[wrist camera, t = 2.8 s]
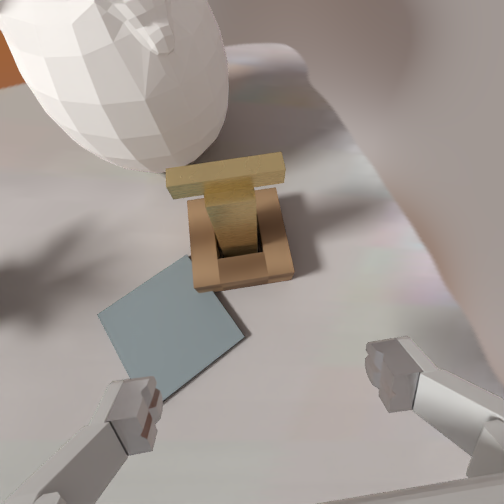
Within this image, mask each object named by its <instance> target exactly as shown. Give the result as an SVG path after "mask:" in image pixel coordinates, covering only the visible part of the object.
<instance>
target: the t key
mask: <svg viewBox="0 0 504 504" xmlns="http://www.w3.org/2000/svg"><path fill="white" fill-rule="evenodd" d="M285 171H286V168H285V164H284V160H283V156H282V152H276V153H269V154H262V155H255V156H248V157H241V158H234V159H228V160H221V161H214V162H207V163H200V164H193V165H186V166H179V167H173V168H166V187H167V189H168V191H169V192H170V194H171V196H172V198H173V199H179V198H185V197H192V196H199V195H204V199H205V208H206V210H207V213H208V216H209V218H210V221H211V224H212V226H213V229H214V231H215V234H216V237H217V239H218V242H219V245H220V247H221V250H222V252H223V255H224V258H228V257H234V256H240V255H247V254H253V253H258V252H257V216H256V197H255V192H254V187H259V186H266V185H273V184H279V183H284V178H285Z"/></svg>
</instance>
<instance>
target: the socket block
mask: <svg viewBox="0 0 504 504" xmlns="http://www.w3.org/2000/svg"><path fill="white" fill-rule="evenodd" d="M254 192H255V197H256V216H257V227H258V232H259V238H260V243H261V249H262V252H260V253H253V254H247V255H240V256H234V257H228V258H221V259H220V251H219V243H218V239H217V237H216V234H215V231H214V229H213V226H212V224H211V221H210V218H209V216H208V213H207V210H206V208H205V199H204V198H202V199H195V200H188V201H187V206H188V219H189V232H190V245H191V258H192V272H193V285H194V289H195V290H196V291H197V292H198V293H204V292H210V291H213V292H219V291H225V290H231V289H237V288H244V287H250V286H256V285H262V284H269V283H275V282H281V281H287V280H291V279H292V277H293V275H294V272H295V271H294V267H293V262H292V258H291V253H290V249H289V244H288V240H287V235H286V231H285V227H284V222H283V218H282V213H281V209H280V204H279V200H278V195H277V191H276V187H275V188H269V189H262V190H255V191H254Z"/></svg>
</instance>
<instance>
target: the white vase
mask: <svg viewBox="0 0 504 504" xmlns="http://www.w3.org/2000/svg"><path fill="white" fill-rule="evenodd" d="M0 29H1V31H2V32H3V35H4V37H5V39H6V41H7V44H8V46H9V48H10V50H11V53H12V55H13V57H14V60H15V62H16V64H17V67H18V69H19V71H20V73H21V75H22V76H23V78H24V80H25V82H26V83H27V85H28V86H29V88H30V89H31V91H32V92H33V94H34V95H35V97H36V98H37V100H38V101H39V103H40V104H41V106H42V107H43V109H44V110H45V112H46V113H47V114H48V115H49V116H50V117H51V118H52V119H53V120H54V121H55V122H56V123H57V124H58V125H59V126H60V127H61V128H62V129H63V130H64V131H65V132H66V133H67V134H68V135H69V136H70V137H71V138H72V139H73V140H74V141H75V142H77V143H78V144H79V145H80V146H81V147H83V148H85V149H86V150H88V151H89V152H91V153H93V154H94V155H96V156H98V157H99V158H101V159H102V160H105V161H107V162H110V163H112V164H114V165H117V166H119V167H122V168H124V169H130V170H136V171H143V172H152V173H162V172H166V168H173V167H179V166H185V165H187V164H189V163H191V162H193V161H195V160H196V159H197V158H198V157H199V156H200V155H201V154H202V153H203V152H204V151H205V150H206V149H207V148H208V147H209V146H210V145H211V144H212V143H213V142H214V141H215V140H216V138H217V137H218V135H219V132H220V130H221V128H222V126H223V124H224V122H225V117H226V112H227V108H228V96H229V80H228V61H227V57H226V53H225V49H224V45H223V41H222V37H221V33H220V29H219V26H218V24H217V22H216V19H215V17H214V15H213V12H212V10H211V8H210V6H209V3H208V1H207V0H0Z"/></svg>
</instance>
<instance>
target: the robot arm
mask: <svg viewBox="0 0 504 504" xmlns="http://www.w3.org/2000/svg"><path fill="white" fill-rule="evenodd" d="M366 351H367V353H368V354H369V355H368V356H367V357H366V358H365V368H366V373H367V375H368V378H369V380H370V381H371V383H372V385H373V386H375V387H377V388H378V389H379V397H380V399H381V401H382V402H383V404H384V406H385V407H386V409H387V411H388V412H389V413H392V412H400V411H407V410H413V412H415V413H416V414H417V415H418V416H420V417H421V418H422V419H424V420H425V421H426V422H428V423H429V424H430V425H431V426H433V427H434V428H435V429H437V430H438V431H439V432H440V433H442V434H443V435H444V436H446V437H447V438H448V439H450V440H451V441H452V442H453V443H455V444H456V445H457V446H459V447H460V448H461V449H463V450H464V451H465V452H466V453H468V454H469V455H470V456H472V457H471V460H470V463H469V465H468V468H467V472H466V475H467V476H468V478H466V479H460V480H454V481H448V482H442V483H436V484H431V485H425V486H419V487H413V488H407V489H401V490H395V491H389V492H383V493H377V494H371V495H365V496H359V497H353V498H347V499H341V500H335V501H329V502H323V503H317V504H504V399H503V398H501V397H499V396H497V395H495V394H493V393H491V392H489V391H487V390H485V389H483V388H481V387H479V386H477V385H475V384H473V383H471V382H469V381H467V380H465V379H463V378H461V377H459V376H457V375H455V374H453V373H451V372H449V371H447V370H444V369H441V370H439V368H438V367H437V366H436V365H435V364H434V363H433V362H432V361H431V360H430V359H429V358H428V357H427V355H426V354H425V353H424V352H423V351H422V350H421V349H420V348H419V347H418V346H417V345H416V343H415V342H414V341H413V340H412V339H411V338H410V337H408V336H403V337H397V338H390V339H384V340H378V341H372V342H368V343H367V344H366ZM156 384H157V381H156V379H155V377H154V376H147V377H140V378H132V379H125V380H118V381H112V382H111V383H110V384H109V385H108V387H107V389H106V391H105V393H104V395H103V397H102V399H101V401H100V403H99V405H98V407H97V409H96V411H95V413H94V415H93V417H92V419H91V421H90V423H89V425H87V426H84V427H83V428H82V429H80V430H79V431H78V432H77V433H76V434H75V435H74V436H73V437H72V438H71V439H70V440H69V441H68V442H66V443H65V444H64V445H63V446H62V447H61V448H60V449H59V450H58V451H57V452H56V453H55V454H54V455H52V456H51V457H50V458H49V459H48V460H47V461H46V462H45V463H44V464H43V465H42V466H41V467H40V468H39V469H37V470H36V471H35V472H34V473H33V474H32V475H31V476H30V477H29V478H28V479H27V480H26V481H25V482H23V483H22V484H21V485H20V486H19V487H18V488H17V489H16V490H15V491H14V492H13V493H12V494H11V495H10V496H8V497H7V498H6V500H5V501H4V503H3V504H95V502H96V501H97V500H98V498H99V497H100V495H101V494H102V493H103V491H104V490H105V489H106V487H107V486H108V484H109V483H110V482H111V480H112V479H113V477H114V476H115V475H116V473H117V472H118V471H119V469H120V468H121V466H122V465H123V464H124V462H125V461H126V459H127V458H128V456H129V455H134V454H140V453H145V452H150V451H153V447H154V443H155V439H156V435H157V428H156V426H155V424H156V423H157V422H158V421H159V420H160V419H161V414H162V409H163V399H162V394H161V392H160V390H158V389H157V388H156Z"/></svg>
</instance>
